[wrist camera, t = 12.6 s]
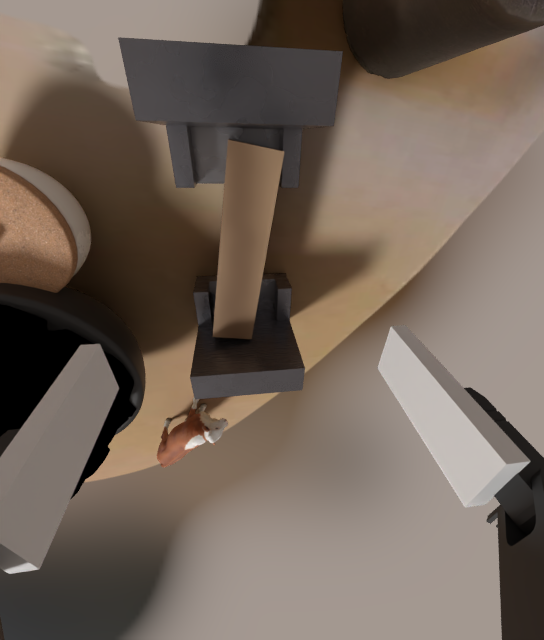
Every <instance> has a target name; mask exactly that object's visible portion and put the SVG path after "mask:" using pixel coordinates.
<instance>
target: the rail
mask: <svg viewBox="0 0 544 640" xmlns="http://www.w3.org/2000/svg"><path fill="white" fill-rule="evenodd" d="M283 157H284V151H280V150H277V149H273V148H269V147H264V146H259V145H255V144H250V143H245V142H241V141H236V140H231V139H228V146H227V159H226V171H225V184H224V197H223V210H222V223H221V235H220V248H219V261H218V274H217V286H216V299H215V312H214V325H213V337H223V338H238V339H252V333H253V328H254V322H255V316H256V311H257V305H258V299H259V294H260V288H261V282H262V277H263V271H264V265H265V260H266V254H267V248H268V243H269V237H270V231H271V226H272V220H273V214H274V208H275V203H276V197H277V191H278V186H279V180H280V174H281V169H282V163H283Z"/></svg>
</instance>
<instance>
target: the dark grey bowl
mask: <svg viewBox="0 0 544 640" xmlns="http://www.w3.org/2000/svg"><path fill="white" fill-rule="evenodd" d="M88 344H100V345H101V347H102V350H103V352H104V354H105V357H106V359H107V361H108V364H109V366H110V368H111V370H112V373H113V375H114V377H115V380H116V382H117V384H118V386H119V390H118V392H117V395H116V397H115V399H114V401H113V404H112V406H111V408H110V410H109V413H108V415H107V417H106V419H105V422H104V424H103V426H102V429H101V431H100V433H99V435H98V438H97V440H96V442H95V444H94V447H93V449H92V451H91V453H90V456H89V458H88V460H87V463H86V465H85V467H84V469H83V472H82V474H81V476H80V478H79V481H78V483H77V485H76V488H75V490H74V492H73V494H72V497H71V499H72V498H73V497H74V496H75V494H76V493H77V492H78V491H79V489H80V487H81V486H82V483H84V481H85V479H87V478H88V477H90V476H91V475H93V474H94V473H95V471H96V470H97V469H98V468H99V466H100V465H101V464H102V463H103V461H104V460H105V458H106V457H107V455H108V453H109V451H110V449H109V448H108V445H109V443H110V442H111V441H112V439H113V437H114V435H116V434H118V433H119V432H121V431H122V430H124V429H125V428H126V427H127V426H128V425H129V424H130V423H131V422H132V421H133V420H134V418H135V417H136V415H137V414H138V412H139V410H140V408H141V405H142V402H143V398H144V392H145V367H144V361H143V357H142V353H141V350H140V348H139V345H138V343H137V341H136V339H135V337H134V336H133V334H132V332H131V331H130V329H129V328H128V327H127V325H126V324H125V323H124V322H123V321H122V320H121V319H120V318H119V317H118V316H117V315H116V314H115V313H114V312H113V311H111V310H110V309H109V308H108V307H106V306H105V305H103V304H102V303H100V302H99V301H97V300H95V299H94V298H92V297H90V296H88V295H86V294H83V293H81V292H79V291H76V290H73V289H70V288H67V287H63V288H62V289H61V290H60V291H59V292H58V293H54V292H50V291H47V290H43V289H38V288H34V287H29V286H24V285H18V284H10V283H0V437H1V436H2V435H3V434H4V433H6V432H7V431H8V430H14V429H21V427H22V426H23V425H24V423H25V422H26V420H27V419H28V418H29V416H30V415H31V414H32V412H33V411H34V409H35V408H36V407H37V405H38V404H39V402H40V401H41V400H42V398H43V397H44V395H45V394H46V393H47V391H48V390H49V388H50V387H51V386H52V384H53V383H54V381H55V380H56V379H57V377H58V376H59V374H60V373H61V372H62V370H63V369H64V367H65V366H66V365H67V363H68V362H69V360H70V359H71V358H72V356H73V355H74V353H75V352H76V351H77V349H78V348H79V346H80V345H88Z"/></svg>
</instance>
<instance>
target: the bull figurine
mask: <svg viewBox="0 0 544 640" xmlns="http://www.w3.org/2000/svg"><path fill="white" fill-rule="evenodd" d="M193 401H194V403H193V405H192V407H191V410H190V412H189V414H188V417H187V419H185V422H183V423H181V424H179V425H177V426H176V427H175V428H173V429H172V431H171V432H170V434H169V435H168V427H169V424H170V423H171V419H166V420H165V424H164V431H163V434H162V436H161V438H162V441H161V443H160V445H159V449H158V453H157V459H158V461H159V462H160V463H161V466H162V467H167V466H168V465H172V464H173V463H175V462H176V461H178V460H180V459H182V458H183V457H184V456H185V455H186V454H187V453H188V452H190V451H191V450H193V449H194V448H196V447H198V446H199V445H201V444H203V443H204V442H206V441H207V440H209V442H211V443H213V444H214V445H215V442H216V441H217V440H218V439H219V438H220V437H221V435H222V432H223V430H224V428H225V427H226V426H227V425H228V422H227V420H226V419H224V418H222V419H220V420H218V419H215V418H213V419H212V418H211V417H210V415H209V414H207V413H205V412H204V410H205V408H206V406H207V405H206V404H202V405H201V406H200V408H199V411H200V412H199V413H198V414H195V411H196V409H197V403H198V401H199V399H195V398H193Z"/></svg>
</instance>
